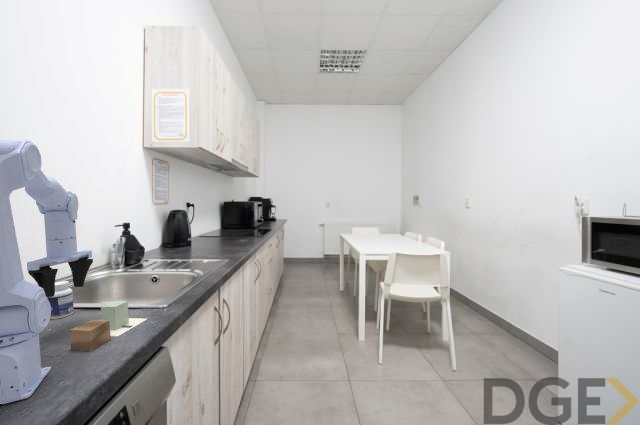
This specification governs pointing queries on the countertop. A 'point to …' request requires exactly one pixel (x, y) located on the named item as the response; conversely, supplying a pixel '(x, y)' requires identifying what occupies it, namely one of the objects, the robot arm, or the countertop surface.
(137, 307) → the countertop surface
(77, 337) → the walnut block
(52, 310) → the pill bottle
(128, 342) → the countertop surface
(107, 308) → the sage pillar
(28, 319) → the robot arm
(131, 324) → the letter card
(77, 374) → the countertop surface
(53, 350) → the countertop surface
